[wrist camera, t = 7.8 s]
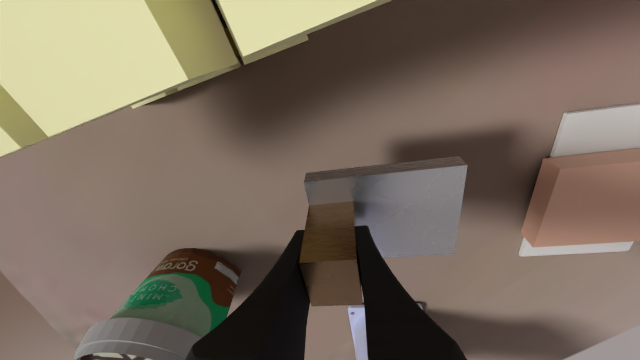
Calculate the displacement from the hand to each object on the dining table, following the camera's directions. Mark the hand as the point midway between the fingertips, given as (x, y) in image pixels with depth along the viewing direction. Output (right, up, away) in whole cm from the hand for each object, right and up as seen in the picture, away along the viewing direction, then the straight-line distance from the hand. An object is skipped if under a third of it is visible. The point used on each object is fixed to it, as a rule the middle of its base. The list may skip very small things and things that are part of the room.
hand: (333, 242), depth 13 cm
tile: (+15, +1, +5) cm, 16 cm away
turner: (+3, +2, +2) cm, 4 cm away
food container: (-15, -5, +14) cm, 21 cm away
